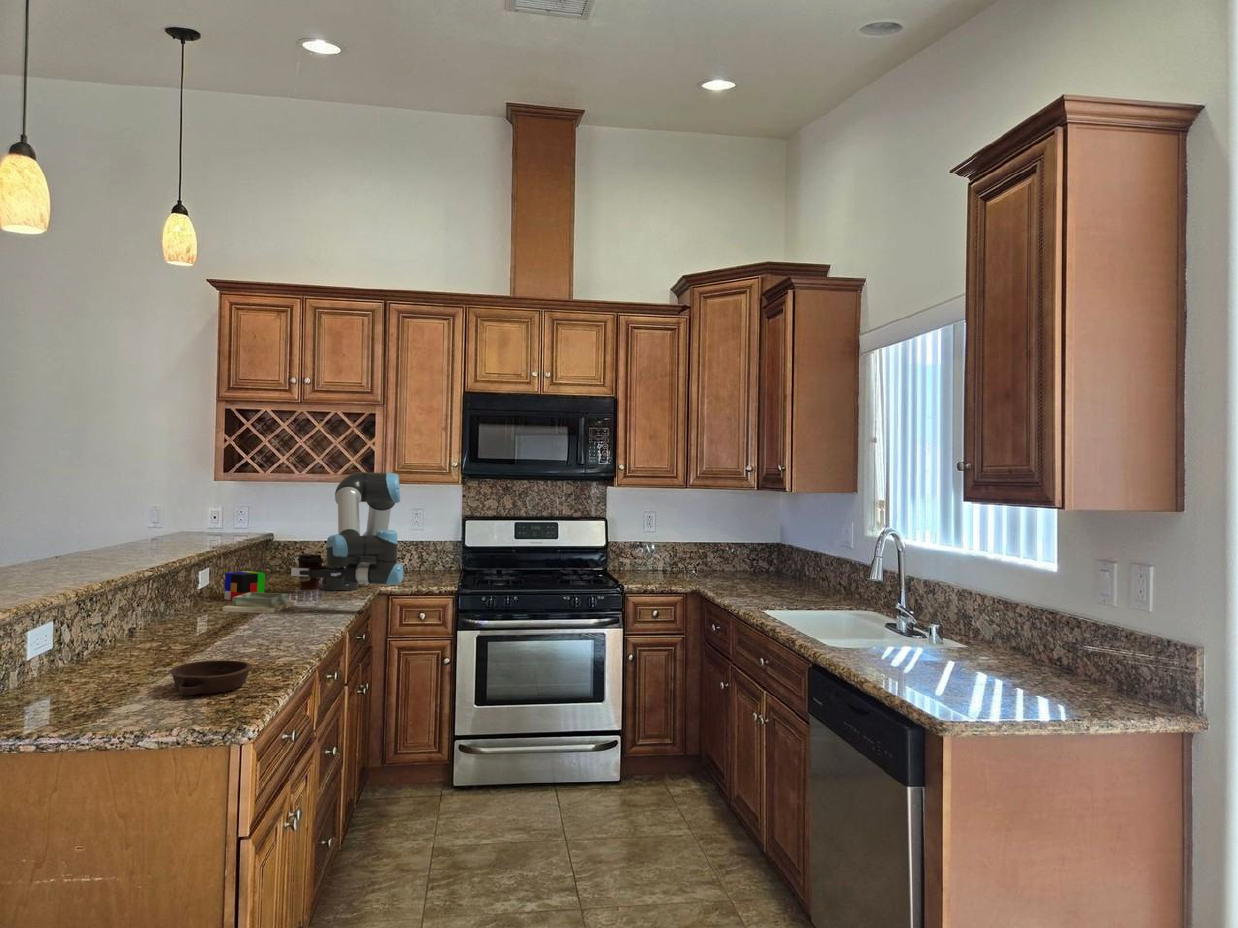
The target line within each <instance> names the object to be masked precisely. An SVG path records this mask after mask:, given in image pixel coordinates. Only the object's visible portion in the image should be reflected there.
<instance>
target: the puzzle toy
mask: <svg viewBox="0 0 1238 928" xmlns="http://www.w3.org/2000/svg"><path fill="white" fill-rule="evenodd" d="M224 576H225V577H224V600H228V601H232V600H233V597H236V596H239V595H242V594H246V593H249V592H257V593H265V585H266V583H265V582H266V573H265V572H260V571H259V572H258V571H251V570H243V571H235V572H225V574H224Z"/></svg>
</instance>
